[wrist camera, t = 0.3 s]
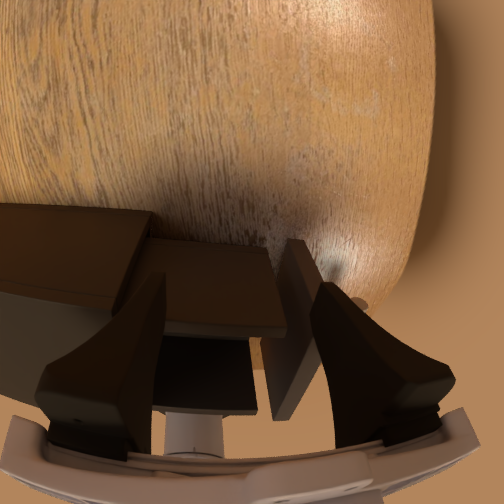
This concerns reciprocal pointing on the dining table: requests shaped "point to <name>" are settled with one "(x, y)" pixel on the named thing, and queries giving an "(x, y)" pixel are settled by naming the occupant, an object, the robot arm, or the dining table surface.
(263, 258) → the open drawer with handle
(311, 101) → the dining table surface
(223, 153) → the dining table surface
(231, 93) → the dining table surface
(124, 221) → the dark grey drawer unit
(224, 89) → the dining table surface
